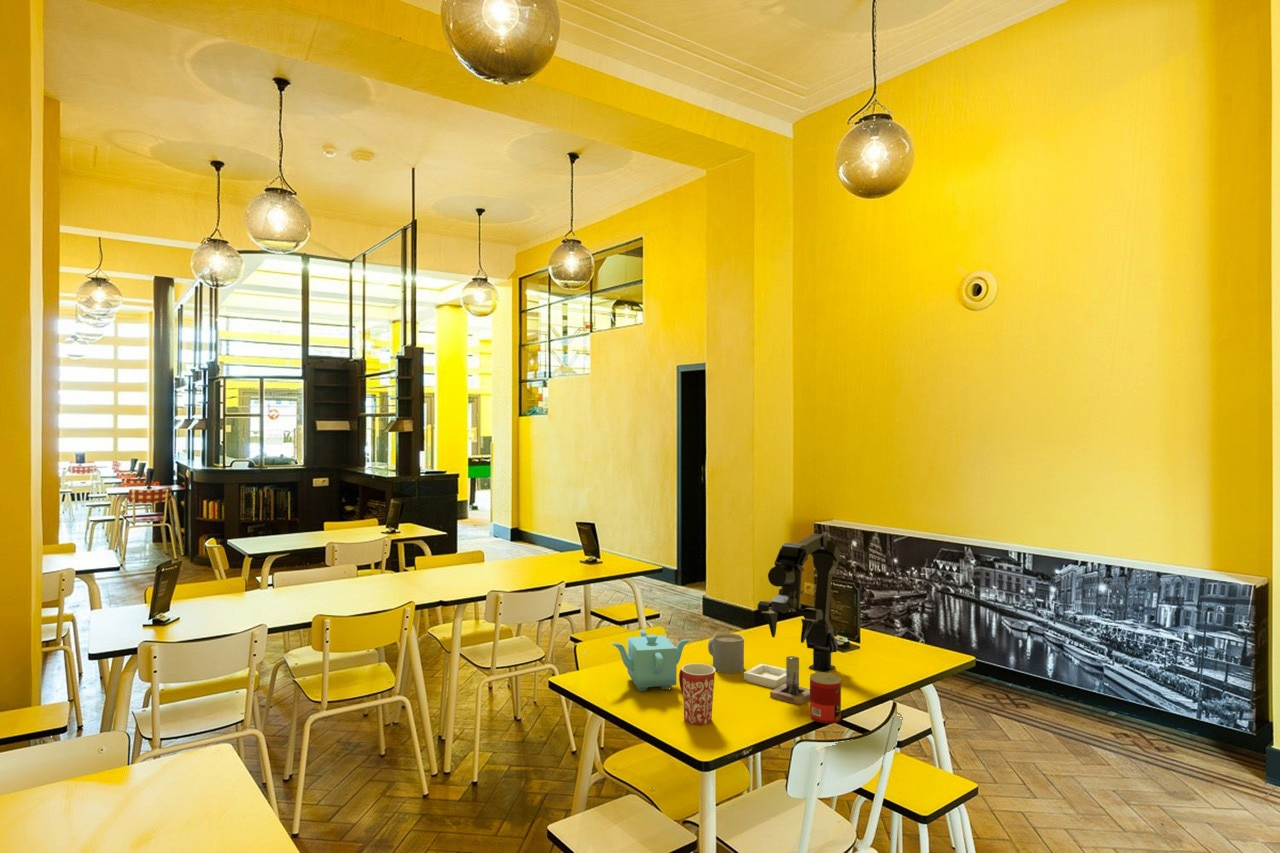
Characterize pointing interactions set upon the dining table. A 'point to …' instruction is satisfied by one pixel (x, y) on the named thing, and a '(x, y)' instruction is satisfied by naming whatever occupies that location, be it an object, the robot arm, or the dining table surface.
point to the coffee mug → (727, 652)
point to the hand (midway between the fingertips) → (787, 640)
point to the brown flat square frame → (782, 695)
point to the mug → (697, 692)
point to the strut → (792, 675)
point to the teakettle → (651, 660)
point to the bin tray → (766, 675)
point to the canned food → (825, 697)
